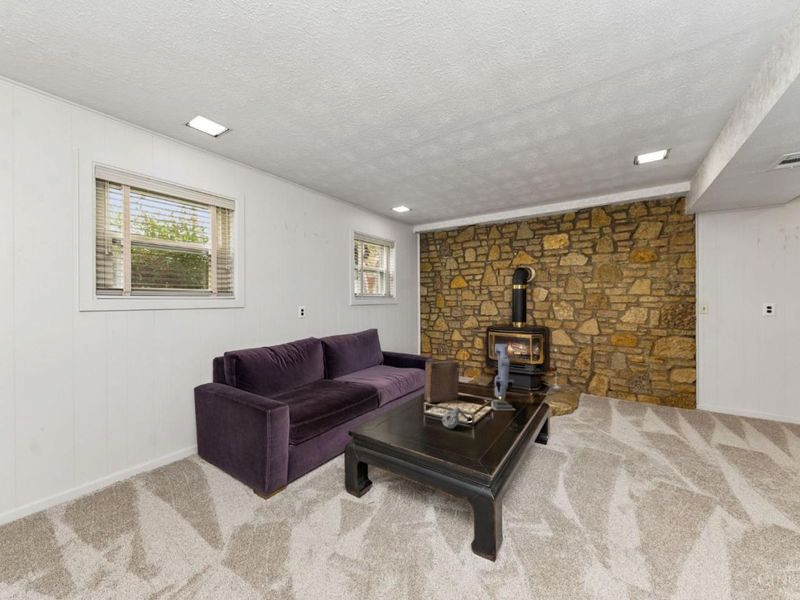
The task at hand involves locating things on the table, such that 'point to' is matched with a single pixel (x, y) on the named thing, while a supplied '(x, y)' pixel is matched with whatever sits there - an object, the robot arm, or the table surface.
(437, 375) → the book
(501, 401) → the brass rounded knob
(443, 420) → the mechanical valve
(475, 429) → the table surface
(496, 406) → the socket plate
